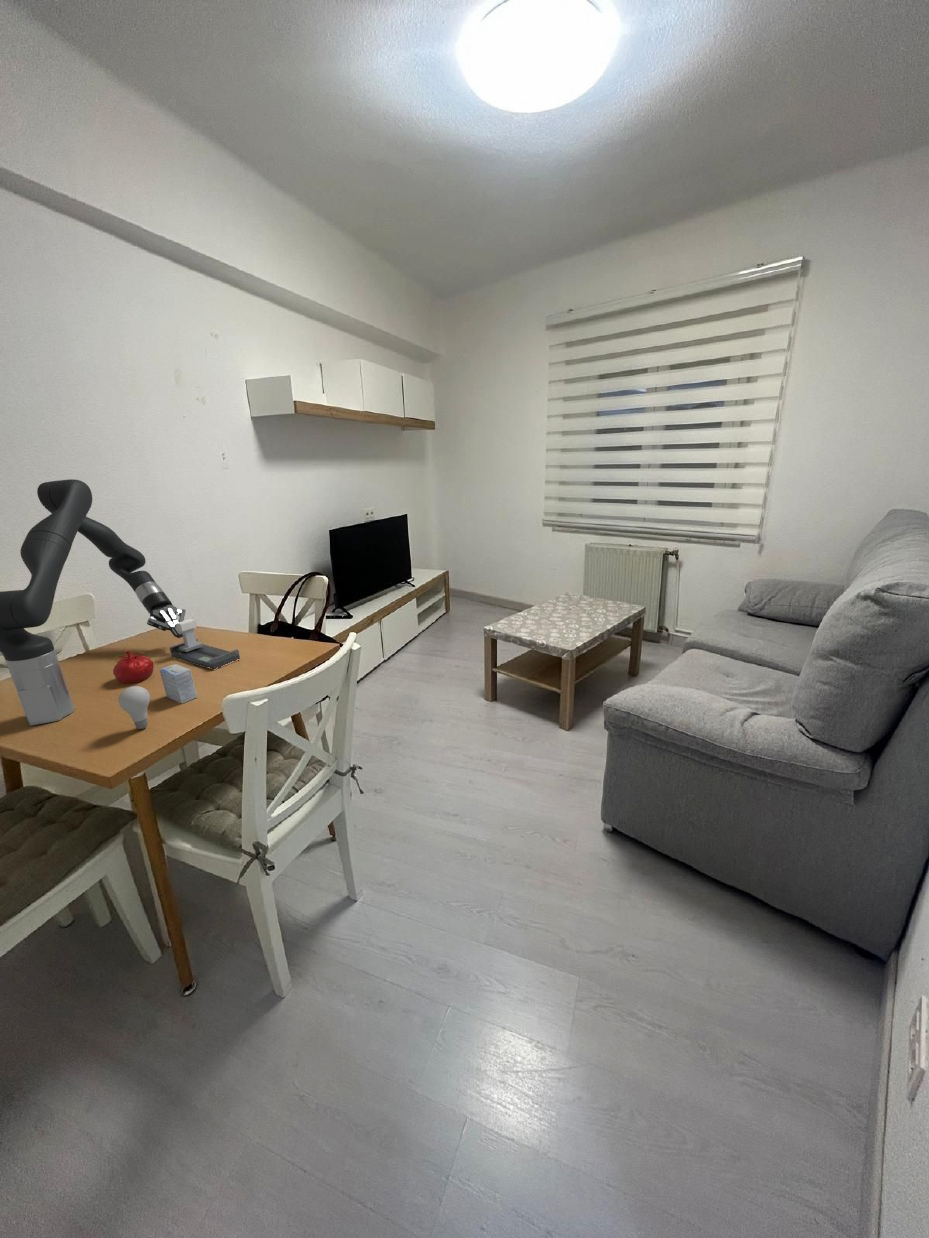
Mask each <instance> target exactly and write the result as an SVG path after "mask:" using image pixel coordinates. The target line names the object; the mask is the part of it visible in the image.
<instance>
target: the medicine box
mask: <svg viewBox="0 0 929 1238" xmlns="http://www.w3.org/2000/svg"><path fill="white" fill-rule="evenodd" d="M159 674H160V677H161V678H160V679H161V681H162V684H163V688H164V692H165V695H166V698H168V699H170V700H173V701H175V702H177V703H180V704H186V703H188V702H191V701H193V700H194V699H197V698H198V694H197V689H196V686H195V683H194V679H193V675H192V670H191V669H190V668H188V667H185V666H181V665H179V664H177V663H175V664H170V665H168V666H165V667H163V668H161V669H159Z"/></svg>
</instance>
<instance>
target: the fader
mask: <svg viewBox="0 0 929 1238" xmlns="http://www.w3.org/2000/svg"><path fill="white" fill-rule="evenodd" d="M176 627H177V630H179V631H182V635H183V637H182V639H183V643H184V644H185V645H184V646H181V647H179V650H181V651H185V652H188V651H191V650H194V649H197V648H199V647H202V646H204V645H205V643H203V642H199V641H198V642H197V641H196V639H197V636H196V632H195V628H198V625H197V620H196V619H192V618H189V619H186V620H185V619H184V621H182V622H178V623H176Z"/></svg>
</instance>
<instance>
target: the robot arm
mask: <svg viewBox="0 0 929 1238" xmlns="http://www.w3.org/2000/svg"><path fill="white" fill-rule="evenodd" d="M36 492H37V497H38V500H39V502H40V504H41V505H42V506H43V507H44V508H45V509H46V511H48V512H49V513H51V514H49V515H48V516H46V517H45V518H43V519H42V520H40V521H39V522H37V523H36V524H35V525H34V526H32V527H31V528H30V530H29V531H28V533H27V534H26V536H25V538H24V540H23V542H22V544H21V547H20V551H19V552H20V557H21V559H22V561H23V563H24V565H25V567H26V569H28V571H29V573H30V575H31V577H30V580H29V582H28V585H27V586H26V587H25V588H24V589H16V590H5V591H4V590H3V591H0V653H1V654H2V656H3V659H4V660H5V663H6V666H7V669H8V671H9V674H10V677H11V679H12V683H13V685H14V688H15V690H16V693H17V696H18V699H19V701H20V703H21V704H20V705H21V706H22V709H23V711H24V714H25V717H26V720H27V723H28V725H29V726H30V727H32V726H36V725H42V724H47V723H52V722H57V721H61V720H62V719H63V718H65V717H67V716H68V715H70V714H72V713H73V712H74V711H75V707H74V703H73V700H72V698H71V694H70V691H69V689H68V685H67V683H66V680H65V677H64V673H63V670H62V668H61V664H60V661H59V659H58V655H57V652H56V650H55V647H54V644H53V641H52V640H51V639H50V638H49V637H47V636H42V635H37V634H34V633H32V632H29V631H28V630H26V629H31V628H36V627H41V626H42V625H44V624H46V622H47V621H48V619H49V617H50V615H51V612H52V609H53V604H54V599H55V596H56V595H55V594H56V591H57V587H58V583H59V580H60V577H61V574H62V571H63V569H64V566H65V564H66V561H67V560H68V557H69V554H70V552H71V550H72V546H73V544H74V543H73V542H74V540H75V537H76V535H77V534H78V533H79V534H81V535H82V536H84V537H85V538H86V539H87V540H89V542H91V543H92V544H93V545H94V546H95V547H96V548H97V549H98V550H99V551H100V552H101V553H102V554H103V555H104V556H105V557H106V558H110V559H109V561H108V567H109V569H110V570H111V571H112V572H113V573H114V574H116V575H117V576H119V577H120V578H122V579H123V580H124V581H125V582H126V583H127V584H128V585H129V586H130V588H131V589H132V590H133V592H134V593H135V595H136V597H137V598H138V600H139V602H140V603H141V605H142V606H143V607H144V609H145V610H146V611H147V613H148V614H149V618H148V620H147V622H146V625H148V626H150V627H153V628H156V629H158V630H160V631H164V632H166V631H170V632H171V633H172V635H173V636H174V637H175V638H177V639H181V638H183V635H182V631H179V630H177V627H176V623H178V622H182V621H185V616H186V612H187V611H186V609H185V608H182V609H178V608H177V607H176V606H175V605H173V603H172V601H171V599H169V597H168V596H167V594H166V593H165V592H164V590H163V589H162V587H161V586H160V585H159V584H158V583H157V582H156V581H155V579H154V578H153V576H152V575H151V574H150V573H149V572H148V571H147V570H139V569H141V568H142V567H144V566H145V565H146V564H147V563H146V562H147V561H146V560H147V559H146V557H145V556H144V554H143V552H141V551H139V550H137V549H136V548H134V547H132V546H131V545H129V544H127V543H126V542H124V540H122V539H121V538H120V536H119V535H118V534H117V533H116V532H115V531H114V530H113V529H111V528H110V527H108V526H107V525H106V524H103V523H101V522H99V521H96V520H94V519H93V518H90V517H89V516H87V515H88V513H89V511H90V509H91V507H92V503H93V493H92V491H91V488H90V486H89V485H88V484H87V483H85V482H84V481H83V480H79V479H75V478H74V479H60V480H52V481H45V482H42V483H40V484H39V485H38V487H37V489H36ZM177 616H178V618H177Z"/></svg>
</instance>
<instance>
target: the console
mask: <svg viewBox="0 0 929 1238" xmlns="http://www.w3.org/2000/svg"><path fill="white" fill-rule="evenodd" d="M198 640H199V639H197V638H196V641H197V642H199V641H198ZM184 645H185V644H184V642H180V643H177V644H174V645H172V646H169V647H168V649H169V651H170V655H171V658H174V657H175V658H174V659H178V660H180V661H185V662H188V663H190V662H191V664H193V663H194V664H193V665H196V664H198V665H197V666H200V665H201V666H200V667H203V666H204V667H203V668H206V667H210V668H212V669H216V668H217V667H221V666H223V665H225V664H228V663H230V662H232V661H236V660H237V659H240V660H241V657H240V651H239V649H238V648H237V649H234V650H231V651H229V650H225V649H221V648H218V647H214V646H210V645H208V644H207V645H206V644H204V646H202V647H199V648H197V649H194V650H191V651H188V652H185V651H181V650H179V647H181V646H184ZM236 662H237V661H236ZM223 667H224V666H223ZM221 668H222V667H221ZM212 669H211V670H212ZM216 670H217V669H216Z"/></svg>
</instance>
